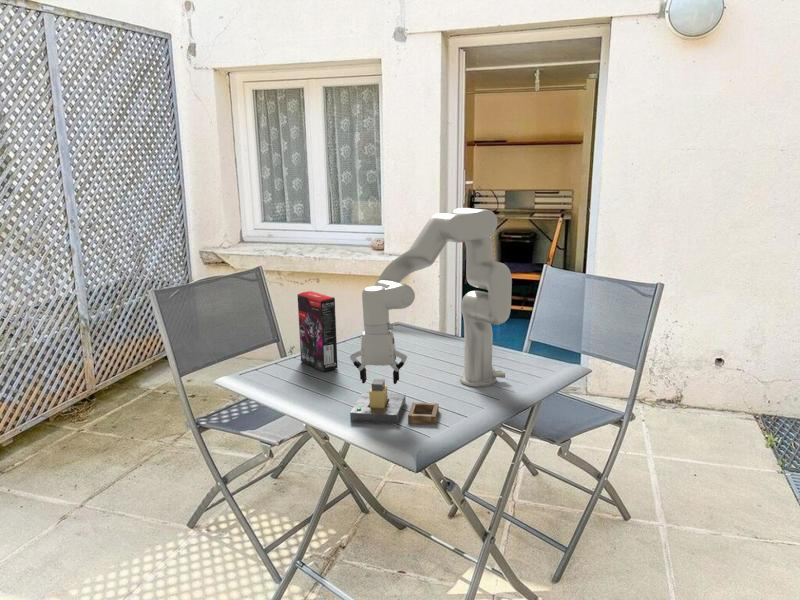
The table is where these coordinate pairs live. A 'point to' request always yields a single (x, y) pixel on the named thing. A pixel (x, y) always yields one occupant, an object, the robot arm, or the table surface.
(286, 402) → the table surface
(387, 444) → the table surface
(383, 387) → the plug
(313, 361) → the graphics card box
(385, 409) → the port
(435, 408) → the frame
